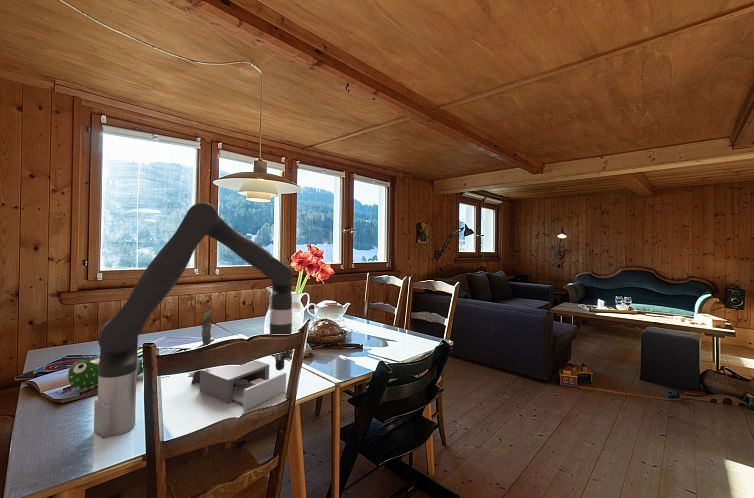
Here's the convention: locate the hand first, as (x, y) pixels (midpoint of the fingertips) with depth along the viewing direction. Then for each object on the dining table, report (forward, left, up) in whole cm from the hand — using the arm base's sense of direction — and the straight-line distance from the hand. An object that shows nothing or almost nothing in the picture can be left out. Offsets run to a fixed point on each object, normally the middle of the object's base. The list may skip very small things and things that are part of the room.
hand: (279, 369), depth 123 cm
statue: (-2, +40, -13) cm, 42 cm away
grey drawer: (0, +13, -13) cm, 18 cm away
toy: (-22, +65, -13) cm, 70 cm away
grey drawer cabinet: (0, +23, -13) cm, 26 cm away
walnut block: (0, +10, -11) cm, 15 cm away
